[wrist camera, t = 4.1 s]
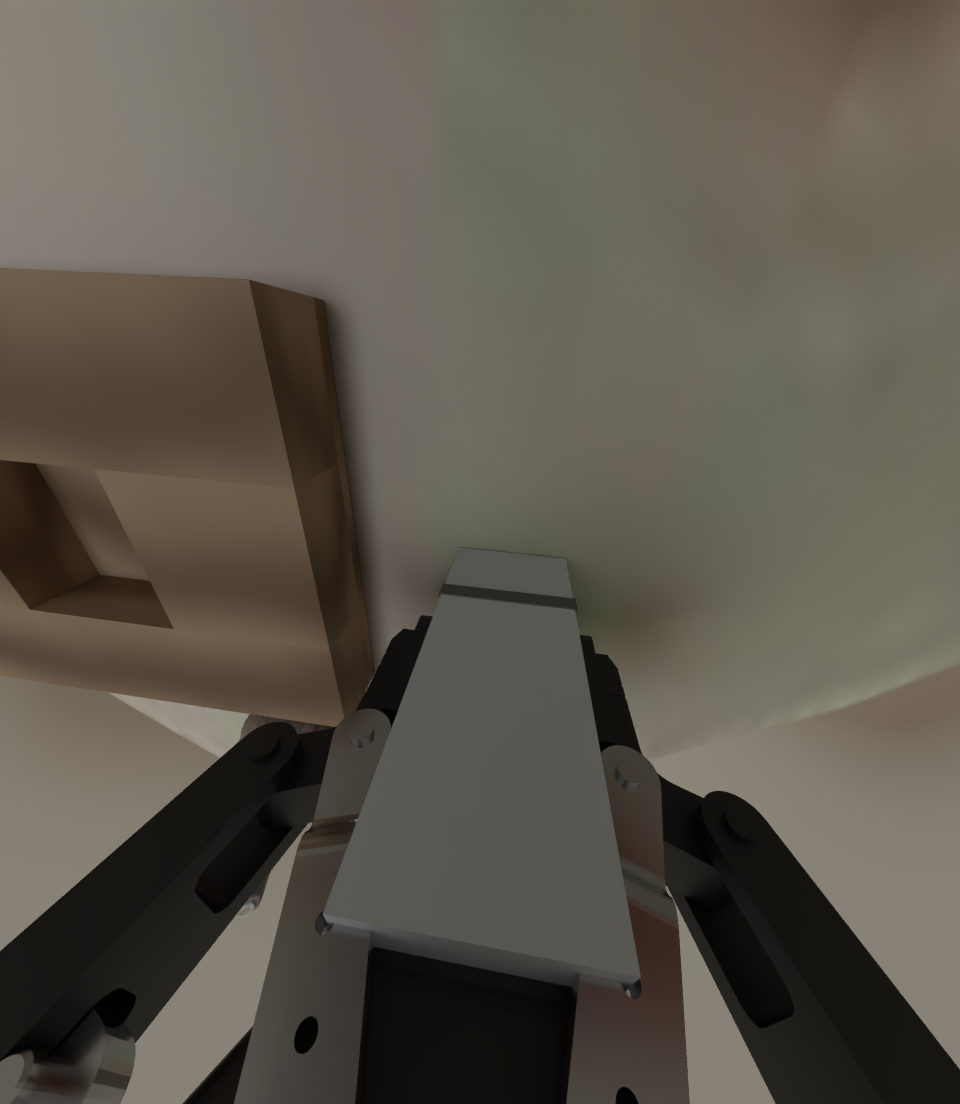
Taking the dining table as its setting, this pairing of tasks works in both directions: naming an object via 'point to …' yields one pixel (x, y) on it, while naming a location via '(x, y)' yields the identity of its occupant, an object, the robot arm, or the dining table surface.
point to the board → (176, 495)
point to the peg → (494, 792)
